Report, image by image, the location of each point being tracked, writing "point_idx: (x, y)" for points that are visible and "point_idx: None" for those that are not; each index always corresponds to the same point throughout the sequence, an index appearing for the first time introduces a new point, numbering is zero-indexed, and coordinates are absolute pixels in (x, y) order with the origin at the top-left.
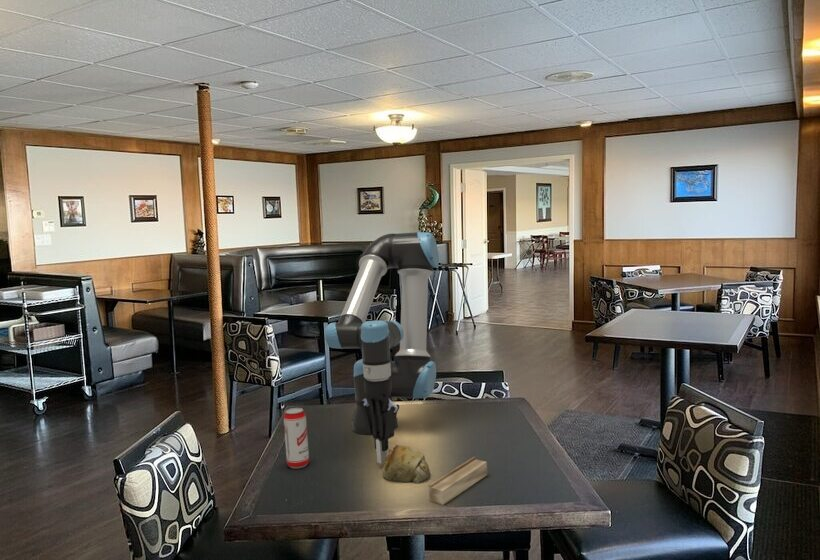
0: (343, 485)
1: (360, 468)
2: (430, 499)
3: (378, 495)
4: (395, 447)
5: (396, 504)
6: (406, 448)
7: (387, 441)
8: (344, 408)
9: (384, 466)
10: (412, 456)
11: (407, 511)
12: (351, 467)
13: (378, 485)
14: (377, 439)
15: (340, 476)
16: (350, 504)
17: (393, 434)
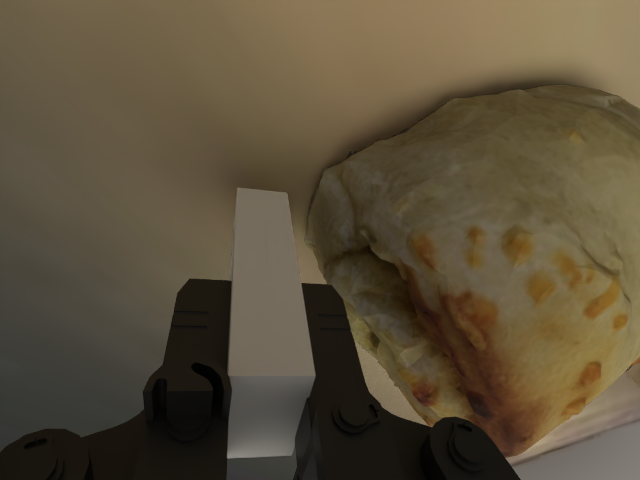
0: None
1: (125, 284)
2: (635, 378)
3: (413, 416)
4: (519, 445)
5: None
6: (604, 360)
7: (357, 375)
8: None
9: (378, 361)
10: (634, 363)
11: (550, 432)
12: (51, 297)
13: (372, 372)
14: (241, 452)
15: (114, 390)
16: None
17: (501, 467)
